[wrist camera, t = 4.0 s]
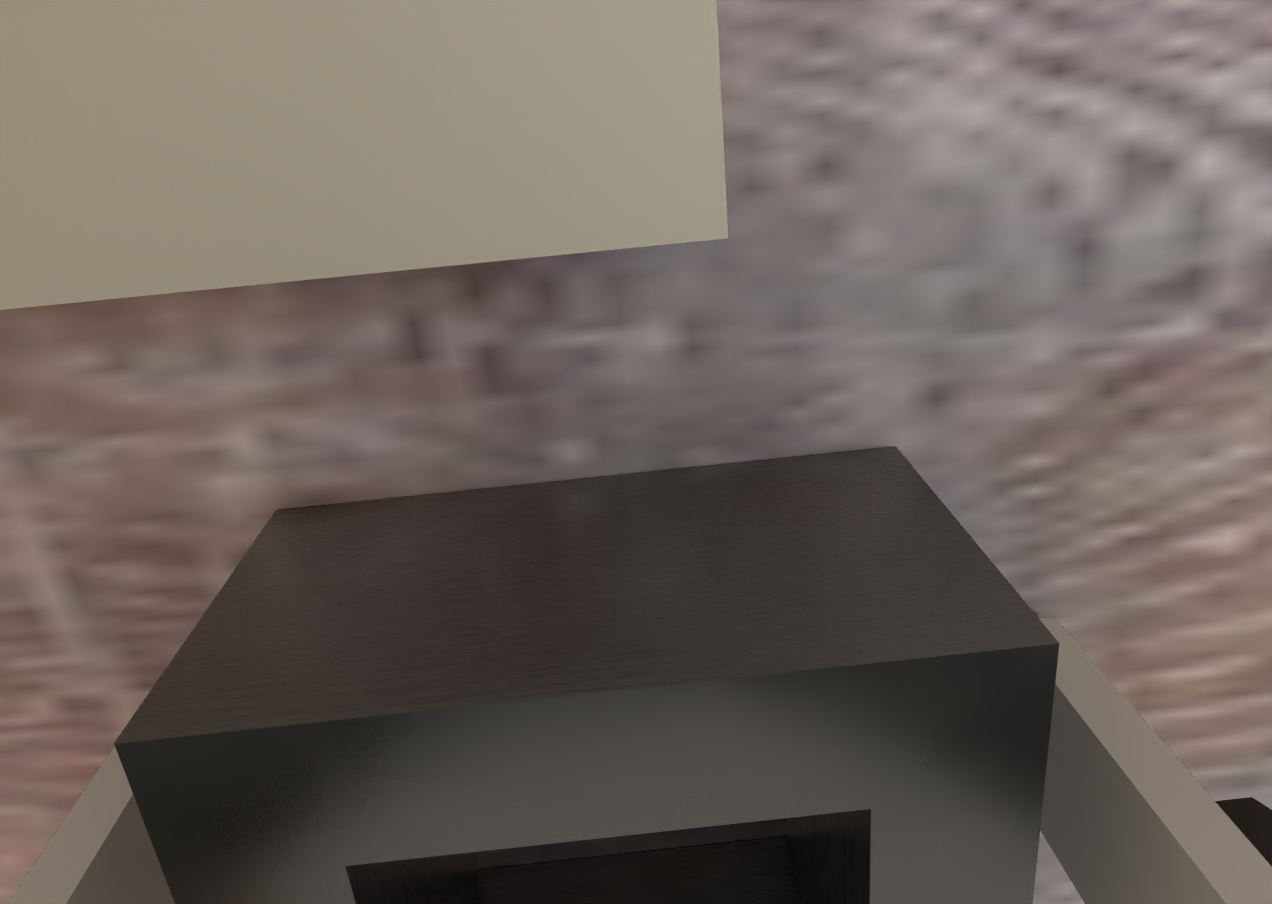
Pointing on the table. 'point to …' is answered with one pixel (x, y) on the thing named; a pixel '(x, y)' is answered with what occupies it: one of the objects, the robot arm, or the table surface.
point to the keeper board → (345, 138)
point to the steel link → (608, 698)
